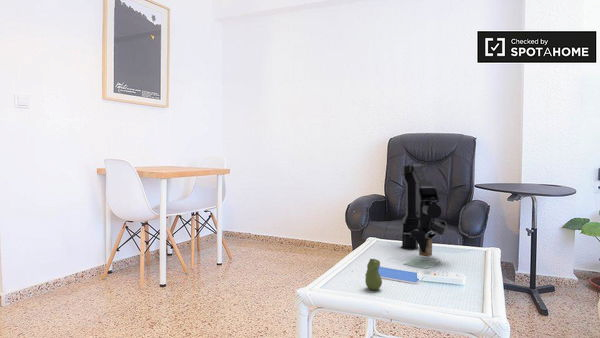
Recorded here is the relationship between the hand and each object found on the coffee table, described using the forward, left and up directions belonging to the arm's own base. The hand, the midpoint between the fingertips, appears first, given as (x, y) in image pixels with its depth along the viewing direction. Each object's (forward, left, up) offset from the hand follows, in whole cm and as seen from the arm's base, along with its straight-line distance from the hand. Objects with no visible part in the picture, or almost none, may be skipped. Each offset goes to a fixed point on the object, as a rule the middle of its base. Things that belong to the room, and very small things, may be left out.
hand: (425, 251), depth 166 cm
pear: (0, -46, -4) cm, 46 cm away
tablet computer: (-1, -27, -5) cm, 28 cm away
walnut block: (0, 0, -2) cm, 2 cm away
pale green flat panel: (0, -4, -4) cm, 6 cm away
